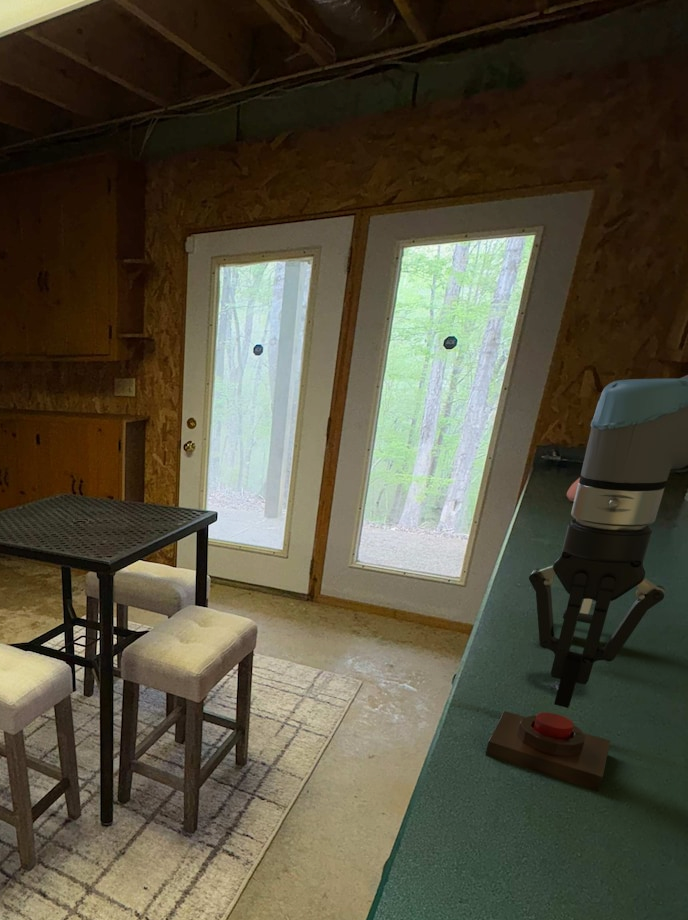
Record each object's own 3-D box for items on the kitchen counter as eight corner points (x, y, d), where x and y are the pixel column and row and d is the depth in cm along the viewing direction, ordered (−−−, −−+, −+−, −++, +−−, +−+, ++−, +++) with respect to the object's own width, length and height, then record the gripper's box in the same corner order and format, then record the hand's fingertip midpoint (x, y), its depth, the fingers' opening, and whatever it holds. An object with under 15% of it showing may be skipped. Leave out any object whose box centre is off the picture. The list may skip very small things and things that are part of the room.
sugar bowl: (572, 506, 210) (580, 475, 206) (557, 498, 222) (564, 469, 218) (616, 507, 206) (624, 476, 202) (598, 499, 218) (606, 469, 215)
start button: (572, 730, 82) (576, 719, 81) (568, 744, 79) (571, 732, 78) (536, 720, 84) (539, 709, 84) (530, 733, 82) (533, 721, 81)
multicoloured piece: (599, 629, 100) (602, 618, 98) (561, 622, 103) (564, 611, 102) (613, 584, 107) (617, 572, 105) (577, 578, 110) (580, 567, 108)
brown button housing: (606, 754, 83) (614, 728, 81) (597, 792, 76) (606, 764, 74) (501, 723, 90) (506, 699, 89) (485, 755, 83) (491, 729, 82)
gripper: (536, 522, 73) (497, 698, 82) (686, 537, 65) (625, 731, 73) (546, 509, 78) (509, 676, 87) (687, 522, 70) (630, 705, 78)
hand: (562, 701), depth 80 cm, fingers closed
